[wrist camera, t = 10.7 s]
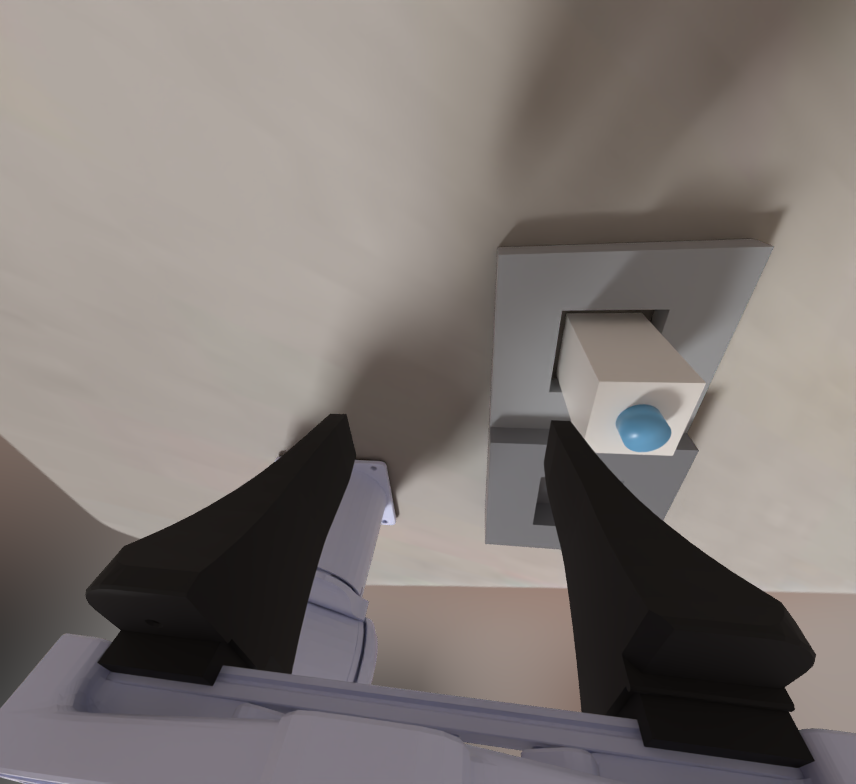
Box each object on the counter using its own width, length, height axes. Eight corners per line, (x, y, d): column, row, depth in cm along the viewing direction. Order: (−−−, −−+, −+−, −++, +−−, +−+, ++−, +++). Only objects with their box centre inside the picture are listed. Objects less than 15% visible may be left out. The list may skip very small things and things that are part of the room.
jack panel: (484, 512, 31) (485, 543, 29) (497, 247, 19) (500, 263, 16) (631, 521, 30) (645, 555, 27) (753, 238, 17) (798, 255, 15)
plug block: (556, 373, 23) (586, 467, 16) (566, 313, 20) (606, 395, 14) (623, 374, 22) (682, 472, 16) (641, 312, 20) (719, 398, 13)
